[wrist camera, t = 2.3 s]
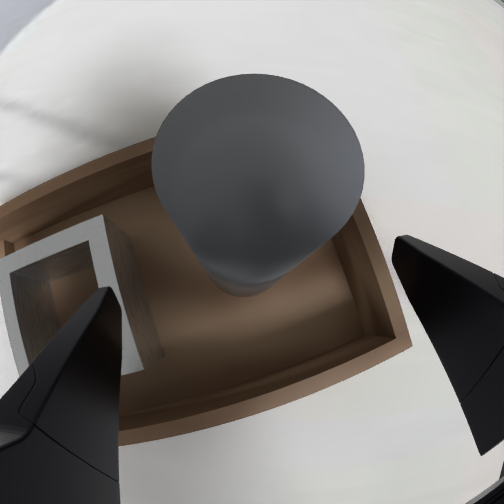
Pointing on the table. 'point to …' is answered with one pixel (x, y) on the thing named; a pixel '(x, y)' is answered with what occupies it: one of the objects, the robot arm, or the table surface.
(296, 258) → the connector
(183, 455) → the table surface
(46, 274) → the frame
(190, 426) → the box
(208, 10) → the table surface
